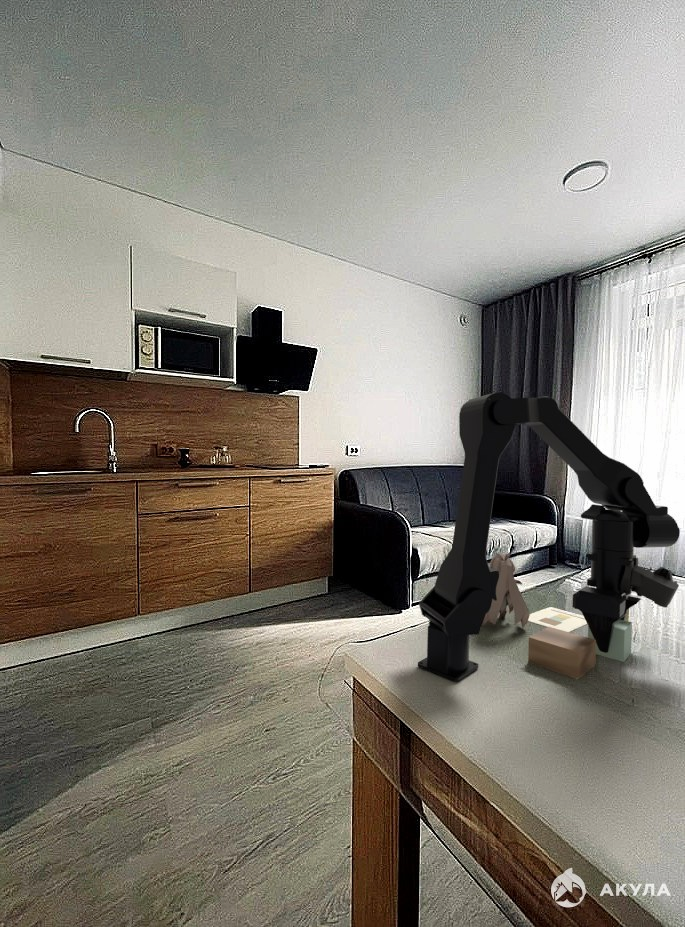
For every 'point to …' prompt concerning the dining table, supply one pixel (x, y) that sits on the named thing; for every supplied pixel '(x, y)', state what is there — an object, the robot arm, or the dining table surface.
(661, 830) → the dining table surface
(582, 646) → the base block
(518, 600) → the toy
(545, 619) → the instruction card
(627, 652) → the pale green cube
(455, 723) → the dining table surface
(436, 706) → the dining table surface
